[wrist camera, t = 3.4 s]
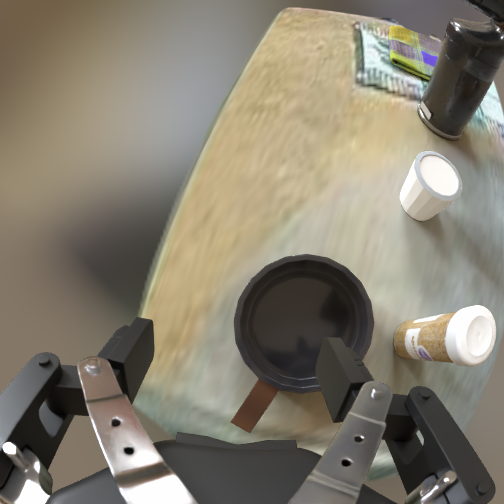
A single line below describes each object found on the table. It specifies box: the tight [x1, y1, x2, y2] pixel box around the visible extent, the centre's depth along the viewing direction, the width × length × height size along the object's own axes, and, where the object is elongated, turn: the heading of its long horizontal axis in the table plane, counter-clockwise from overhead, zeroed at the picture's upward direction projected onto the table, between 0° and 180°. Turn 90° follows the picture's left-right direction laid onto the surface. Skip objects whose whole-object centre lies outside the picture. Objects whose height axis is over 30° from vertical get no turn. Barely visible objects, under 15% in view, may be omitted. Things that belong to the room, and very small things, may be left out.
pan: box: [234, 254, 374, 393], centre depth 26 cm, size 13×13×4 cm
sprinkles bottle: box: [394, 305, 496, 366], centre depth 20 cm, size 5×5×14 cm
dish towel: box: [389, 26, 442, 80], centre depth 39 cm, size 18×24×3 cm
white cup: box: [400, 151, 462, 221], centre depth 27 cm, size 7×7×7 cm
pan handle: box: [231, 379, 279, 433], centre depth 25 cm, size 6×2×4 cm, turn 149°
